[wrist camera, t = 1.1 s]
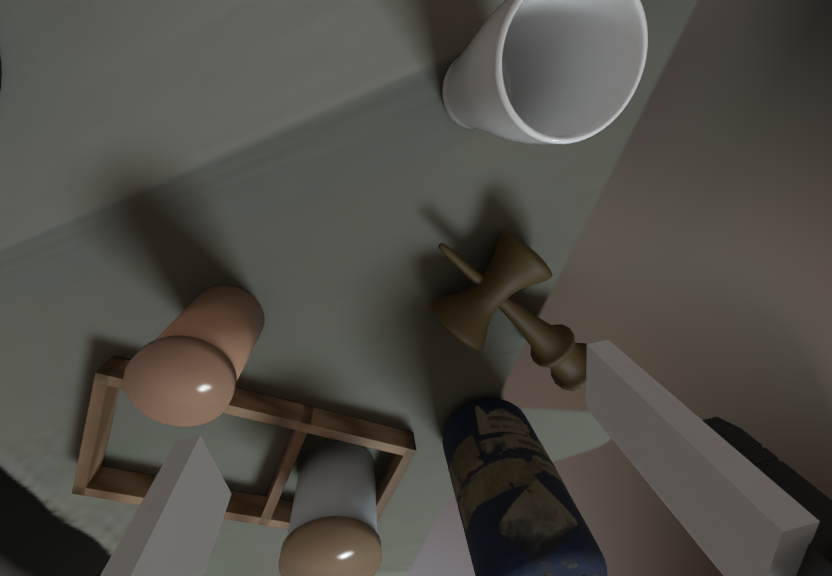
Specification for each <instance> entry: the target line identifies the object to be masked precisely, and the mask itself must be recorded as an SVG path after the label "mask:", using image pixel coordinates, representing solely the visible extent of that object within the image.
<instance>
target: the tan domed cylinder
mask: <svg viewBox="0 0 832 576" xmlns="http://www.w3.org/2000/svg"><path fill="white" fill-rule="evenodd" d="M264 320H265V319H264V312H263V309H262V307H261V305H260V304H259V302H258V301H257V300H256V299H255V298H254V297H253V296H252V295H251V294H249V293H248V292H246V291H244V290H243V289H240V288H237V287H233V286H215V287H212V288H209V289H207V290H205V291H204V292H202V293H201V294H200V295H199V296H198V297H197V298H196V299H195V300H194V301H193V302H192V303H191V304H190V305H189V306H188V307H187V308H186V309H185V310H184V311H183V312H182V313H181V314H180V315H179V316H178V317H177V318H176V319H175V320H174V321H173V322H172V323H171V324H170V325H169V326H168V327H167V328H166V329H165V330H164V331H163V332H162V333H161V334H160V335H159V336H158V337H157V338H156V340H154V341H152V342H150V343H148V344H147V345H145V346H144V347H143V348H142V349H141V350H140V351H139V352H138V353H137V354H136V355H135V356H134V357H133V358H132V359H131V360H130V362H129V363H128V365H127V367H126V369H125V372H124V378H123V382H124V388H125V392H126V394H127V396H128V398H129V400H130V401H131V402H132V404H133V405H134V406H135V407H136V408H137V409H138V410H139V411H140V412H142V413H143V414H144V415H146V416H148V417H149V418H151V419H153V420H155V421H158V422H161V423H164V424H167V425H172V426H181V427H187V426H197V425H201V424H204V423H207V422H210V421H212V420H214V419H215V418H217V417H218V416H219V415H221V414H222V413H223V412H224V411H225V410H226V408H227V407H228V405H229V403H230V401H231V399H232V397H233V395H234V393H235V390H236V386H237V380H238V378H239V376H240V374H241V372H242V370H243V368H244V366H245V364H246V362H247V360H248V358H249V356H250V354H251V352H252V350H253V348H254V346H255V344H256V342H257V340H258V338H259V336H260V333H261V331H262V329H263V326H264Z"/></svg>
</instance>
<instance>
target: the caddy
mask: <svg viewBox="0 0 832 576" xmlns="http://www.w3.org/2000/svg"><path fill="white" fill-rule="evenodd" d="M129 362H130V360H127V359H123V358H119V357H115V356H113V357H112V358H111V359H110V360H109V361H108V362H107V363H105V364H104V365H103V366H102V367H101V368H100V369H99V370H98V371H97V372H96V373H95V378H94V383H93V388H92V393H91V398H90V403H89V408H88V413H87V419H86V424H85V429H84V434H83V439H82V444H81V449H80V454H79V459H78V465H77V470H76V475H75V480H74V485H73V490H72V494H78V495H84V496H90V497H96V498H102V499H108V500H114V501H120V502H126V503H132V504H138V505H140V504H141V503H142V501H143V499H144V497H145V496H146V494H147V492H148V490H149V488H150V487H151V485H152V483H153V481H154V480H155V478H156V476H152V475H147V474H141V473H136V472H131V471H125V470H120V469H115V468H109V467H104V466H103V461H104V457H105V452H106V448H107V443H108V439H109V434H110V430H111V425H112V421H113V416H114V412H115V407H116V403H117V398H118V394H119V389H124V390H125V388H124V382H123V378H124V372H125V369H126V367H127V365H128V363H129ZM223 413H225V414H230V415H234V416H238V417H242V418H247V419H251V420H255V421H259V422H263V423H268V424H272V425H276V426H280V427H285V428H289V429H293V433H292V435H291V438H290V440H289V443H288V445H287V447H286V450H285V452H284V455H283V457H282V460H281V462H280V465H279V467H278V469H277V472H276V474H275V477H274V479H273V482H272V484H271V486H270V489H269V491H268V494H267V496H266V497H265V496H260V495H254V494H249V493H243V492H238V491H233V490H230V492H231V497H230V500H229V503H228V506H227V509H226V512H225V515H224V518H223V519H228V520H234V521H240V522H246V523H252V524H258V525H264V526H270V527H276V528H282V529H289V524H290V518H291V513H292V507H293V502H292V501H286V500H281V499H279V498H280V496H281V494H282V491H283V489H284V487H285V484H286V482H287V480H288V477H289V475H290V473H291V470H292V468H293V466H294V463H295V461H296V458H297V456H298V454H299V451H300V449H301V447H302V444H303V442H304V440H305V437H306V435H307V433H310V434H314V435H318V436H323V437H327V438H331V439H335V440H339V441H344V442H348V443H352V444H356V445H361V446H365V447H369V448H373V449H377V450H382V451H386V452H390V453H393V454H392V456H391V458H390V460H389V462H388V464H387V466H386V468H385V470H384V472H383V473H382V475H381V477H380V479H379V481H378V483H377V485H376V487H375V488H376V513H377V522H378V520H379V518H380V516H381V514H382V513H383V511H384V509H385V507H386V505H387V504H388V502H389V500H390V498H391V496H392V494H393V493H394V491H395V489H396V487H397V485H398V483H399V482H400V480H401V478H402V476H403V474H404V472H405V471H406V469H407V467H408V465H409V463H410V462H411V460H412V458H413V456H414V454H415V452H416V445H415V439H414V433H412V432H408V431H404V430H400V429H396V428H393V427H389V426H385V425H381V424H377V423H373V422H369V421H365V420H361V419H357V418H353V417H350V416H346V415H342V414H338V413H334V412H330V411H326V410H322V409H318V408H314V407H310V406H307V405H303V404H299V403H295V402H291V401H287V400H283V399H279V398H275V397H271V396H267V395H264V394H260V393H256V392H252V391H248V390H244V389H240V388H236V390H235V393H234V395H233V397H232V399H231V401H230V403H229V405H228V407H227V408H226V410H225V411H224V412H223Z"/></svg>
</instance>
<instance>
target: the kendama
mask: <svg viewBox="0 0 832 576" xmlns="http://www.w3.org/2000/svg"><path fill="white" fill-rule="evenodd" d="M439 249H440V250H441V251H442V252H443V253H444V255H445V256H446V257H447V258H448V259H449V260H450V261H451V262H453V263H454V264H455V265H456V266H457V267H458V268H459V269H460V270H461V271H462V272H463V273H464V274H465V275H466V276H467V277H468V278H469V279H470V280H471V281H472V282H473V283H474V284H472V285H471V286H470V287H469V288H468V289H466V290H464V291H462V292H459V293H456V294H452V295H448V296H444V297H441V298H437V299H435V300H432V302H431V306H432V310H433V312H434V314H435V315H436V317H437V318H438V319H439V321H440V322H441V323H442V324H443V325H444V326H445V327H446V328H447V329H448V331H449V332H450V333H451V334H453V335H454V336H455V337H456V338H457V339H458V340H459V341H461V342H462V343H463V344H465V345H466V346H468V347H469V348H470V349H473V350H475V351H479V352H480V351H481V350H482V348H483V346H484V342H485V338H486V333H487V329H488V325H489V321H490V319H491V317H492V315H493V313H494V312H495V311H496V310H497V309H498V308H499V309H500V310H501V311H502V312H503V313H504V314H505V315H506V316H507V317H508V318H509V320H510V321H511V322H512V323H513V324H514V325H515V326H516V328H517V329H518V330H519V331H520V333H521V334H522V335H523V336H524V337H525V339H526V340H527V341H528V343H529V344H530V346H531V357H532V359H533V361H534V362H535V363H536V364H538V365H539V366H542V367H549V368H550V369H551V376H552V378H553V380H554V382H555V384H557V385H558V386H559V387H561V388H562V389H565V390H569V391H574V390H577V389H580V388H582V387H584V386H585V385H586V362H587V344H586V343H575V341H574V334H573V332H572V331H571V330H570V328H568V327H566V326H564V325H550V324H548V323H546V322H545V321H543V320H542V319H540V318H538V317H537V316H535V315H534V314H532V313H531V312H529V311H528V310H527V309H525V308H524V307H522V306H521V305H520V304H518V303H517V302H515V301H514V300H513V299H511V298H510V296H511V295H512V294H514V293H515V292H517V291H519V290H521V289H523V288H526V287H528V286H531V285H534V284H538V283H541V282H543V281H546V280H548V279H550V278H551V277H552V272H551V270H550V269H549V267H548V266H547V264H546V263H545V262H544V261H543V259H542V258H541V257H540V256H539V255H538V254H537V253H536V252H535V251H533V250H532V249H531V248H530V247H529V246H528V245H527V244H526V243H524V242H523V241H522V240H521V239H519V238H518V237H517V236H515V235H513V234H512V233H510V232H507V231H503V232H501V233H500V235H499V237H498V240H497V243H496V247H495V251H494V254H493V257H492V260H491V262H490V264H489V266H488V268H487V269H486V271H485V272H484V273H483V274H481V273H479V272H478V271H477V270H476V269H475V268H473V267H472V266H471V265H470V264H469V263H467V262H466V261H465V260H464V259H463V258H461V257H460V256H459V255H458V254H457V253H455V252H454V251H453V250H452V249H450V248H449V247H448V246H446V245H445V244H443V243H440V244H439Z"/></svg>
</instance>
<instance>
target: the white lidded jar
mask: <svg viewBox="0 0 832 576" xmlns="http://www.w3.org/2000/svg"><path fill="white" fill-rule="evenodd" d="M381 560H382V551H381V540H380V537H379V535H378V533H377V513H376V488H375V465H374V459H373V457H372V455H371V453H370V452H369V451H368V450H367V449H366V448H365V447H364V446H361V445H356V444H352V443H348V442H344V441H339V440H329V441H325V442H322V443H320V444H318V445H316V446H314V447H313V448H311V449H310V450H309V451H308V452H307V453H306V454H305V455H304V457H303V459H302V461H301V464H300V469H299V474H298V480H297V485H296V491H295V496H294V502H293V507H292V513H291V518H290V524H289V529H288V535H287V538H286V539H285V541H284V542H283V545H282V548H281V553H280V558H279V571H280V574H281V576H374V575H375V573H376V572H377V570H378V569H379V567H380V564H381Z"/></svg>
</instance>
